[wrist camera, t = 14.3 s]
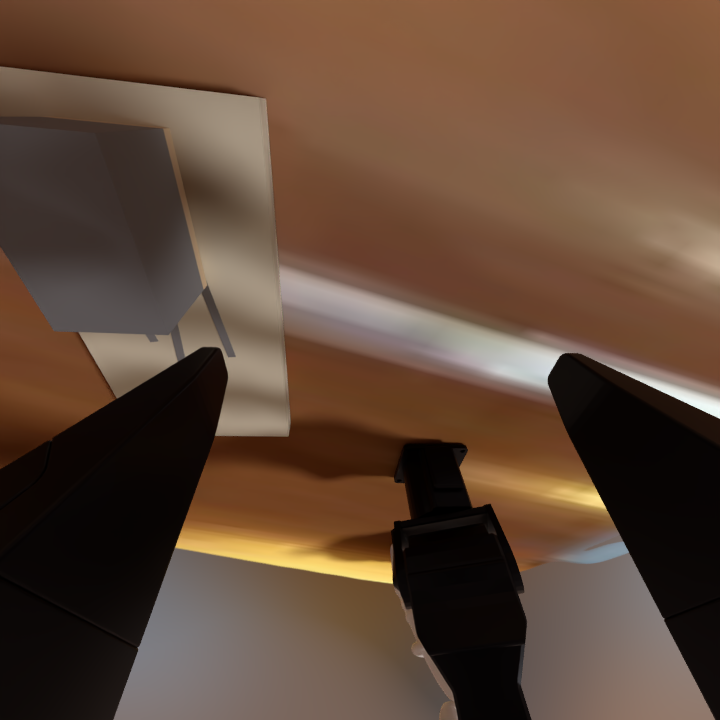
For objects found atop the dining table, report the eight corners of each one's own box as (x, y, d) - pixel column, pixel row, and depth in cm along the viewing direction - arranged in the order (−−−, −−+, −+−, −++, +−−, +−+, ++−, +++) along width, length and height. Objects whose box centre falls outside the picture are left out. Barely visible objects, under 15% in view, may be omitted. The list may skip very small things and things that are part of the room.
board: (290, 422, 27) (288, 437, 26) (147, 420, 26) (137, 435, 25) (266, 98, 13) (259, 97, 12) (-42, 61, 12) (-84, 56, 11)
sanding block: (207, 285, 17) (168, 335, 13) (120, 280, 17) (53, 331, 13) (169, 128, 13) (94, 132, 9) (51, 116, 12) (-82, 116, 8)
